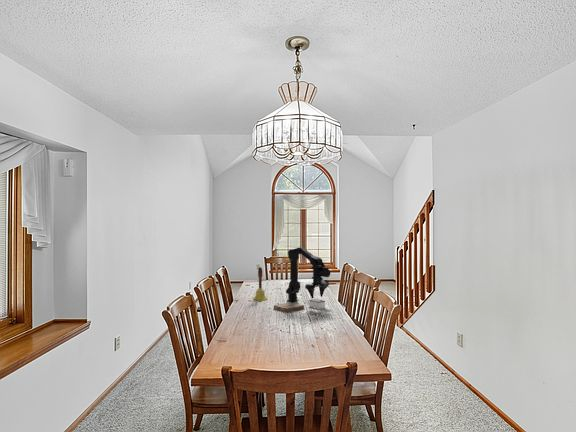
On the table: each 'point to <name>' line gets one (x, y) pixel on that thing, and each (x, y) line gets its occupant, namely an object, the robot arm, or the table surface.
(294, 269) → the robot arm
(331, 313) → the table surface
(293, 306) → the walnut stand
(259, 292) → the handbell
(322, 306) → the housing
